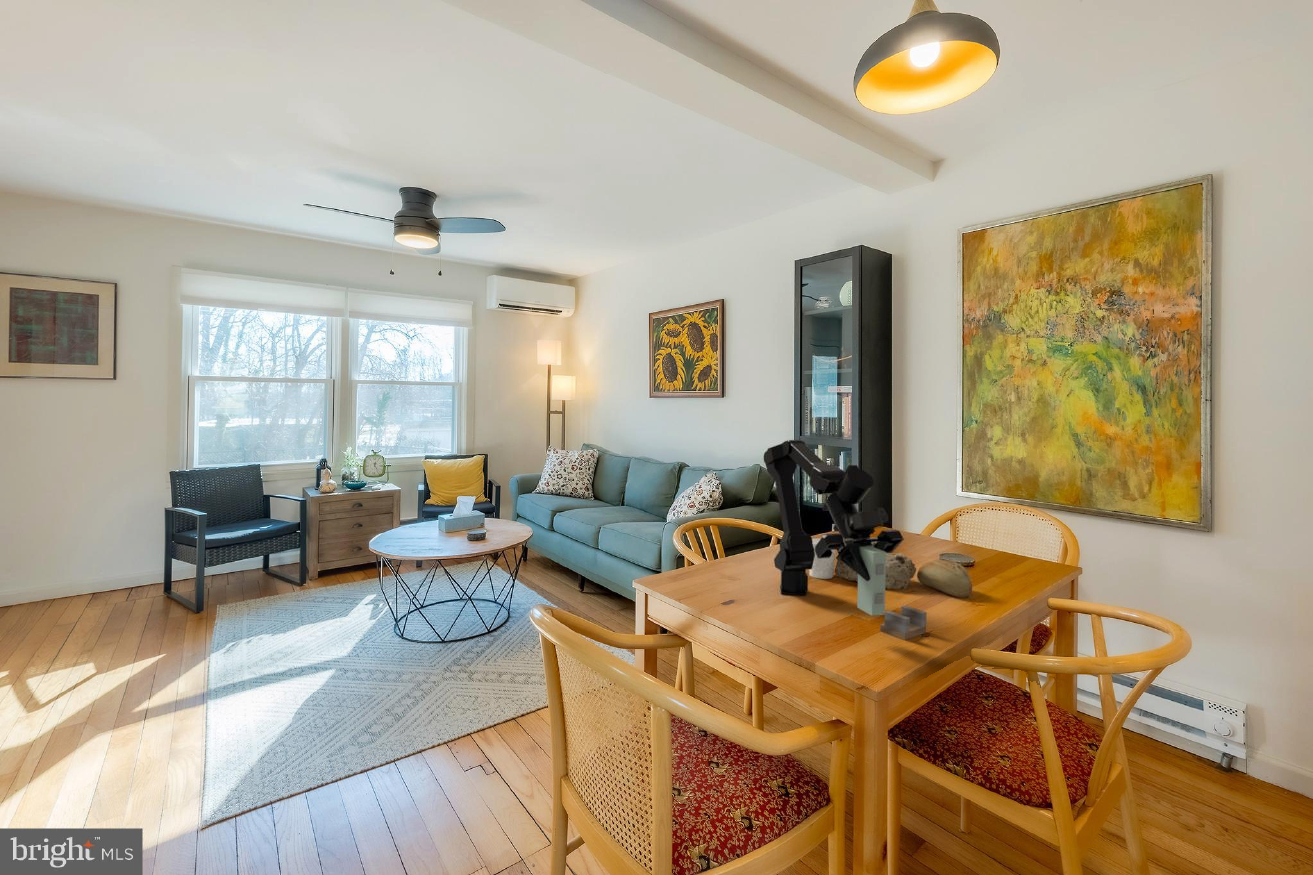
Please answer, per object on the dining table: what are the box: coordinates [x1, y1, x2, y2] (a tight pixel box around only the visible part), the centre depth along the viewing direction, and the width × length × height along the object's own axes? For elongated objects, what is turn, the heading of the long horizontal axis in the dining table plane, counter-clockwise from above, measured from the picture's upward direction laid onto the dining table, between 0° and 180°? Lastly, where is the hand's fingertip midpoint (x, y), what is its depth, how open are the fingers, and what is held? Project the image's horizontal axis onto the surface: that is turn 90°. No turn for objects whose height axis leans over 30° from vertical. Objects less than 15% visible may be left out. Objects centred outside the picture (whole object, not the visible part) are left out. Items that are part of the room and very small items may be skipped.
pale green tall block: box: [856, 546, 886, 617], centre depth 120 cm, size 5×3×13 cm, turn 15°
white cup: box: [808, 538, 837, 580], centre depth 167 cm, size 8×8×10 cm
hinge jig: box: [879, 605, 928, 641], centre depth 126 cm, size 6×8×4 cm
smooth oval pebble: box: [916, 558, 973, 598], centre depth 154 cm, size 10×15×8 cm, turn 26°
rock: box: [834, 552, 917, 590], centre depth 163 cm, size 21×14×10 cm
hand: (875, 579), depth 119 cm, fingers closed on pale green tall block, 3 cm apart
